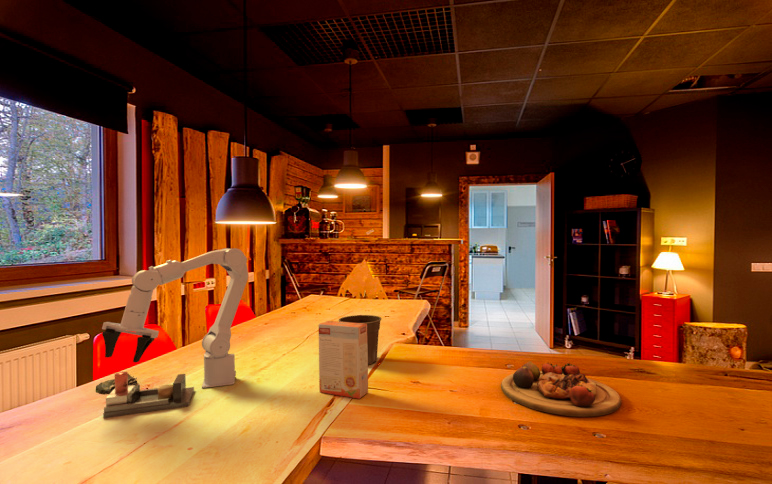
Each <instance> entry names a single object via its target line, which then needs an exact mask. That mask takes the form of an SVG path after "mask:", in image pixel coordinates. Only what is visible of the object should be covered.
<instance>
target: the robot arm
mask: <svg viewBox="0 0 772 484" xmlns="http://www.w3.org/2000/svg"><path fill="white" fill-rule="evenodd" d="M247 262H248V258H247V256H246V255H245V253H244V252H243V251H242V250H241V249H239V248H237V247H236V248H229V247H225V248H222V249H216V250H211V251H208V252H205V253H203V254H200V255H198V256H195V257H192V258H190V259H189V258H188V259H187V260H184V261H181V262H180V261H178V260H175V259H174V260H172V259H169V260H168V259H167V260H166V261H165V263H163V264H160V265H156V266H153V265H151V266H149V267H148V270H145V269H144V270H143V269H142V270H139V271H137V272H135V274H134V275H133V276H132V277H131V284H132V286H131V288H130V293H128V297H127V300H126V304H125V308H124V311H123V314H122V315H123V316H122V318H121V321H120V323H119V322H117V323H116V322H111V321H105V322H104V321H103V324H102V327H101V330H104V331H102V337H103V341H104V347H105V349H104V350H105V352H104V353H105V354H104V357H105V358H111V357H113V355H114V351H115V348H116V345H117V343H118V340H119V337H120V336H121V334H122V333H126V334H131V335H135V336H136V335H137V336H138V337H137V340H136V341H137V342H136V348H135V352H134V356H133V359H132V363H138V362H140V360H141V358H142V356H143V355H144V353H145V351H146V350H147V349H148V348H149V346H150V345H151V344H152V343H153V342H154V341H155V339H157V338H158V337H159V332H160V331H159V330H156V329H151V328H147V327H145V323H146V319H147V316H148V314H149V313H148V312H149V309H150V305H151V302H152V298H153V297H152V296H153V294H154V293H153V292H154V290H155V289H157V287H158V286H162V285H166V284H168V283H171V282H173V281H176V280H179V279H181V278H183V277H184V275H185V273H186V272H189V271H192V270H195V269H198V268H202V267H205V266H208V265H211V264H213V265H220V267H222V268H223V269H224V270H225V271H226V272H227V274H228V276H229V277H230V280H229V282H228V285H227V288H226V290H225V293H224V296H223V299H222V302H221V305H220V307H219V310H218V312H217V315H216V318H215V321H214V323H213V324H212V325H211V326H210V327H209V330H208V332H207V334H205V335H204V336H203V337H202V340H201V347H202V348H203V350H204V351H205V352H204V354H203V375H204V376H203V382H202V384H201V389H202V388H203V389H204V388H205V389H206V388H212V387H213V388H215V387H222V386H230V385H235V379H236V375H237V374H236V373H237V372H236V370H235V369H236V368H235V367H236V363H235V358H236V357H235V353H229V351H230V350H231V349H230V348H231V342H230V341H231V337H232V331H231V326H232V324H233V321H234V319H235V316H236V313H237V310H238V308H239V305H240V302H241V299H242V296H243V293H244V290H245V287H246V285H247V282H248V280H249V272H248V265H247Z"/></svg>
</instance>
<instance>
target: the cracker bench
mask: <svg viewBox="0 0 772 484" xmlns="http://www.w3.org/2000/svg"><path fill="white" fill-rule="evenodd" d="M186 382H187V381H186V373H180V374H177V375H176V377H175V380H174V382H173V383H172V385H173V398H171V399H169V398H168V399H160V400H158V388H159V387H155V388H148V389H140V395H139V397H138V398H137V400H136V401H135V402H134V403H129V404H122V405H114V406H106V405H105V406H104V408H103V415H102V417H103V419H106V418H114V417H121V416H128V415H129V416H130V415H136V414H141V413H142V414H144V413H150V412H157V411H165V410H170V409H179V408H187V407H189V405H190V403H191V400H192V398H193V394H194V391H195V387H194V386H191V387H187V384H186Z"/></svg>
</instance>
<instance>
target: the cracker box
mask: <svg viewBox="0 0 772 484" xmlns="http://www.w3.org/2000/svg"><path fill="white" fill-rule="evenodd" d="M368 365H369V364H368V348H367V324H363V323H350V322H339V321H337V320H335V321H333V320H326V321H324V322H320V323H319V324H318V372H319V373H318V375H319V376H318V377H319V378H318V379H319V381H318V382H319V385H318V387H319V393H323V394H328V395H334V396H341V397H346V398H353V399H357V400H358V399H359V400H360V399H361V398H362V397H364V396H365V395H366V394H368V393H369V369H368V368H369V366H368Z"/></svg>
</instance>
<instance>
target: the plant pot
mask: <svg viewBox="0 0 772 484" xmlns="http://www.w3.org/2000/svg"><path fill="white" fill-rule="evenodd" d="M381 321H382V317H380V316H378V315H372V314H371V315H370V314H359V315H358V314H356V315H347V316H343V317H341V318H338V322H350V323H363V324H367V348H368V365H371V364H374V363H375V362H377V361H378V345H379V335H380V334H379V330H380V328H381Z"/></svg>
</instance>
